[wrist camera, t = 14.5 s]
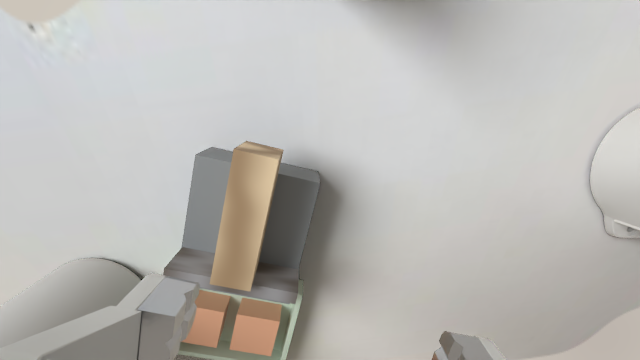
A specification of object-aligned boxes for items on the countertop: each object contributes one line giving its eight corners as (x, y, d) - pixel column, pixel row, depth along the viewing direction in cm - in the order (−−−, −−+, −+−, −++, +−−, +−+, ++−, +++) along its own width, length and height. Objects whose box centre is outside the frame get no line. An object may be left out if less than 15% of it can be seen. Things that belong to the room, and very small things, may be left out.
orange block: (216, 348, 35) (223, 329, 38) (224, 312, 34) (230, 296, 36) (173, 340, 34) (183, 321, 37) (179, 304, 33) (189, 287, 36)
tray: (303, 280, 37) (302, 295, 34) (284, 350, 40) (282, 370, 37) (181, 257, 35) (170, 270, 32) (169, 332, 38) (158, 351, 35)
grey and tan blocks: (327, 160, 28) (331, 171, 23) (296, 279, 31) (294, 311, 26) (199, 130, 27) (176, 135, 22) (180, 257, 30) (157, 287, 25)
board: (318, 171, 34) (320, 183, 29) (291, 277, 37) (289, 304, 32) (211, 146, 32) (195, 154, 27) (193, 259, 36) (176, 284, 31)
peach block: (271, 356, 35) (273, 337, 38) (279, 321, 34) (281, 304, 37) (229, 349, 35) (235, 330, 38) (236, 314, 34) (242, 297, 37)
